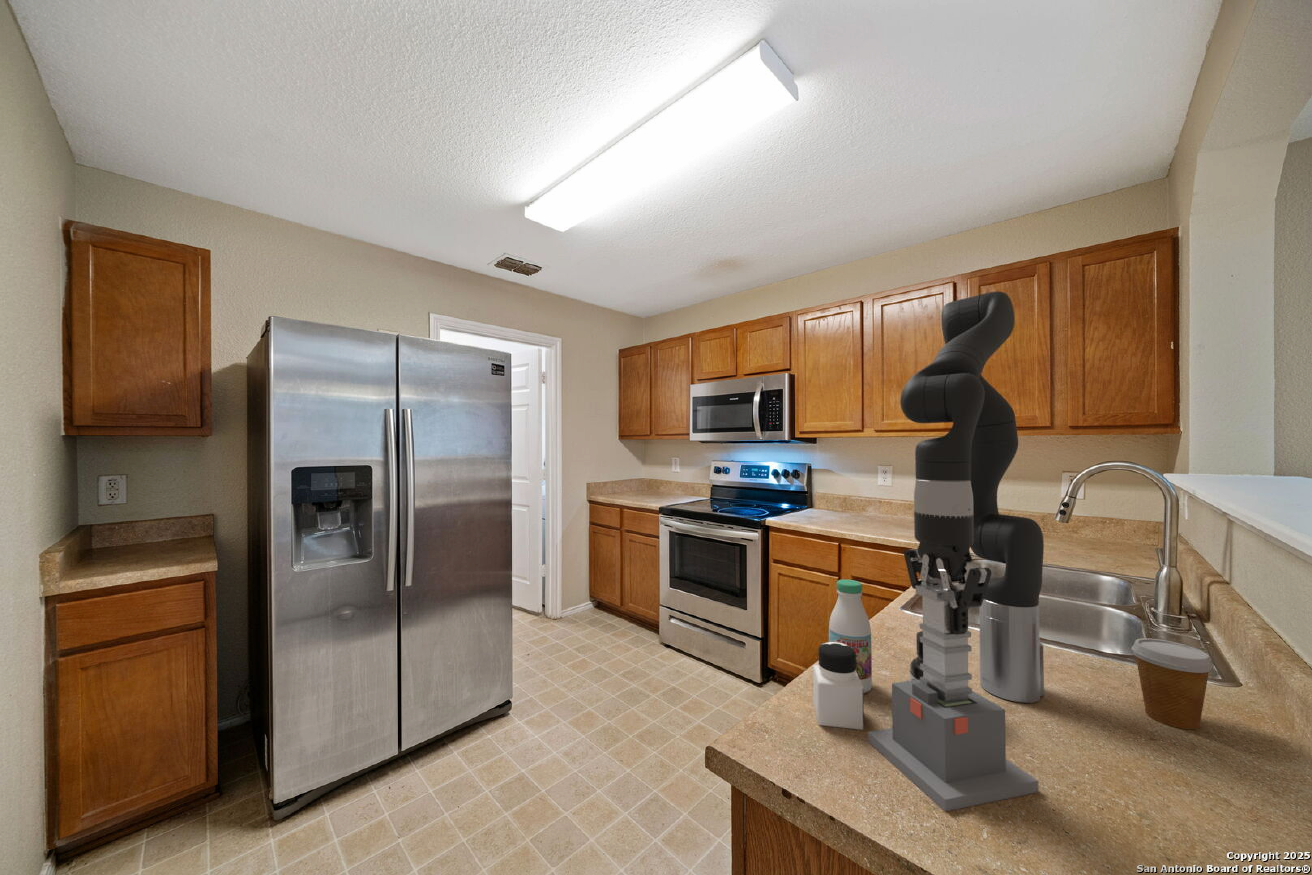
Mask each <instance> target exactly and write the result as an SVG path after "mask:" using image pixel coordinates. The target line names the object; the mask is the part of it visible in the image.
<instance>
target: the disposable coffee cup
mask: <svg viewBox="0 0 1312 875" xmlns="http://www.w3.org/2000/svg"><path fill="white" fill-rule="evenodd" d="M1131 651H1132V652H1133V654H1134V655H1135V660H1136V666H1137V670H1138V677H1139V681H1140V687H1141V693H1142V698H1143V703H1144V710H1145V713H1146V715H1147V716H1149V717H1150V718H1151V719H1154V721H1155V720H1156V721H1157V722H1159V723H1162V724H1165V725H1168V726H1171V727H1174V728H1178V729H1183V730H1192V729H1193V730H1198V729H1200V726H1201V719H1202V715H1203V709H1204V702H1205V698H1206V697H1205V696H1206V690H1207V685H1208V684H1207V683H1208V680H1209V678H1208V677H1209V673H1210V671H1211V669H1213V667H1214V663H1213V662H1211V660H1210V657H1209V655H1208V654H1207V653H1206V652H1204V651H1203V650H1201V649H1198V648H1196V647H1193V646H1189V645H1186V644H1183V643H1179V642H1174V641H1170V640H1166V639H1158V638H1156V639H1155V638H1149V637H1147V638H1143V637H1142V638H1137V639H1135V641H1134V643H1133V645H1132V646H1131ZM1197 728H1198V729H1197Z"/></svg>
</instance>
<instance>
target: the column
mask: <svg viewBox="0 0 1312 875" xmlns="http://www.w3.org/2000/svg"><path fill="white" fill-rule="evenodd" d="M952 584H953V585H956V583H955V582H952ZM915 594H916V595H919V596H921V597H922V622H920V623H919V629H920V630H921V631H923V637H920V642H921V643H923V663H922V664H920V669H922V670H923V677H920V682H921V683H923V684H925V685H926V686H928V687H929V688H931V689H933V690H934V691H936V692H937V693H938V704H940V705H941V706H943V707H944V708H949V707H956V706H962V705H969V704H972V702H970V701H969V694H972V691H973V688H971V686H969V681H970V680H973V674H971V673H970V672H969V652H972V646H971V645H970V644H969V638H972V632H971V631H969V629H968V630H967V631H966V633H965V634H959V635H955V634H953V633H951V632H950V609H949V607H951V606H950V603H949V592H947V591H945V590H944V588H943V584H931V585H927V584H926V585H916V589H915ZM957 596H958V599H960V591H958V590H957Z"/></svg>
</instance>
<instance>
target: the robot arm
mask: <svg viewBox="0 0 1312 875" xmlns="http://www.w3.org/2000/svg"><path fill="white" fill-rule="evenodd" d="M940 316H941V320H940V321H941V330H942V336H943V341H944V345H943V346H942V347H941V349H939V351H938V353H937V354H936V356H935V358H934V360H933V361H932V362H931V363H930V364H928V365H926V366H925V367H923V368H922V369H921V370H919V371H918V372H916V373H915V374H914V375H912V376H911V377H910V378H909V380H907V381H906V383H905V385H904V386H903V388H902V391H901V394H900V401H899V402H900V403H899V404H900V409H901V411H902V413H903V415H904V416H905V417H906V418H907V419H908V420H910V421H911V422H913V423H917V424H939V423H940V424H942V423H944V424H945V423H952V426H951V428H950V429H949V431H948V432H947V433H946V434H945V435H942V436H940V437H934V438H930V439H928V438H927V439H924V440H921V441H919V442H918V443H917V444H916V446H915V455H914V456H915V458H914V459H915V460H914V461H915V482H914V483H915V484H914V489H913V490H914V491H913V512H914V513H913V518H914V519H913V522H914V523H913V527H914V529H913V530H914V531H913V532H914V539H915V540H916V541H917V542H919V543H918V544H919V545H918V546H917V548H916V549H915V548H912V549H905V550H903V556H904V560H905V565H906V568H907V572H908V577H909V581H910V586H911V588H912V589H914V590H916V585H926V584H927V585H931V584H943V588H944V590H945V591H947V592H949V603H950V606H951V607H949V609H950V632H951V633H953V634H955V635H959V634H965V633H966V631H967V630H968V631H969V609H970V608H978V609H979V615H978V616H979V682H980V683H979V684H980V686H981V688H982V689H984V690H985V692H988V693H989V694H991V695H994V696H996V697H999V698H1000V699H1004V700H1006V701H1007V700H1008V701H1012V702H1018V703H1026V704H1027V703H1029V704H1030V703H1036V702H1039V700H1040V699H1041V697H1042V696H1045V675H1044V674H1045V672H1044V671H1045V670H1044V669H1045V668H1044V667H1045V666H1044V665H1045V664H1044V663H1045V662H1044V661H1045V660H1044V645H1043V643H1042V642H1040V594H1041V590H1042V586H1043V571H1044V569H1043V568H1044V566H1043V565H1044V564H1043V563H1044V547H1045V546H1044V545H1045V544H1044V536H1043V535H1044V534H1043V531H1042V529H1041V527H1040V525H1039V524H1038V522H1036V521H1035V520H1034V519H1032V518H1028V517H1022V516H1016V515H1008V514H1001V513H1000V512H999V508H998V506H999V505H998V491H999V490H998V489H999V485H1000V483H1001V481H1002V479H1003V477H1004V476H1005V474H1006V472H1007V470H1008V469H1009V467H1010V465H1011V464H1012V462H1013V460H1014V458H1015V456H1016V454H1017V451H1018V448H1019V437H1018V428H1017V427H1018V426H1017V421H1016V420H1017V418H1016V413H1015V411H1014V409H1013V407H1012V406H1011V404H1010V403H1009V402H1008V400H1006V398H1004V396H1002V394H1001V393H1000V392H999V391H997V390H996V388H994V387H993V385H991V384H990V382H988V381H987V380H986V378H984V376H983V375H982V373H983V370H984V368H985V366H986V363H987V362H988V360H990V358H991V357H992V356H993V355H994V354H995V353H996V352H997V350H999V349H1000V347H1002V345H1003V344H1004V343H1005V342H1006V341H1007V340H1008V339H1009V338H1010V336H1012V333H1013V330H1014V327H1015V322H1016V320H1015V319H1016V318H1015V310H1014V305H1013V303H1012V299H1011V298H1010V296H1009V295H1008V294H1007V293H1006V292H1004V291H999V290H998V291H990V292H986V293H981V294H978V295H974V296H970V297H965V298H962V299H957V300H954V301H953V300H952V301H950V302H948V303H946V304H945V305H944V306H943V308H942V310H941V315H940ZM970 549H971V550H970ZM971 551H972V553H974V555H975V556H976V557H978V558H980V559H983V560H987V561H990V562H996V563H1000V564H1003V565H1004V564H1005V571H1004V575H1003V576H1001V577H992V570H991V569H990V568H989V567H981V566H979V565H978V564H976V563H975V562H974V561H973V557H972V555H971ZM918 574H919V578H918ZM956 582H958V583H957V584H956ZM952 583H955V584H956V585H953V584H952ZM957 590H958V591H960V599H958V596H957Z"/></svg>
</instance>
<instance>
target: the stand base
mask: <svg viewBox="0 0 1312 875" xmlns="http://www.w3.org/2000/svg"><path fill="white" fill-rule="evenodd" d="M891 701H892V702H891V704H892V708H891V709H892V712H891V713H892V715H891V716H892V718H891V719H892V720H891V722H892V723H891V724H892V727H890V728H883V729H877V730H871V731H867V742H868V743H869V744H870V745H871V746H872V747H874V748H875V750H877V751H878V752H879V753H880V754H881V755H882V756H883V757H884V758H886V760H888V761H889V762H890V763H891V764H892V765H893V766H894V767H896V768H897V769H898V770H899V771H900V772H901V773H902V774H903V775H904V776H905V777H906V778H908V779H909V780H910V781H911V782H912V783H913V784H914V785H916V786H917V787H918V789H920V790H921V791H922V792H923V793H924V794H925V795H926V796H927V797H929V799H931V801H933V802H934V803H935V804H936V805H937V806H939V807H940V809H942V810H943V811H944V812H950V811H954V810H959V809H960V810H961V809H964V808H969V807H974V806H977V805H983V804H989V803H992V802H997V801H1002V800H1007V799H1012V798H1016V797H1017V798H1018V797H1022V796H1027V795H1031V794H1035V793H1039V780H1038V779H1036V778H1035V777H1033V776H1032V775H1030V774H1029V773H1027V771H1024V770H1023V769H1021V768H1020V767H1019V766H1017V765H1016V764H1014V763H1013V762H1011V761H1010V760H1008V759H1007V757H1006V754H1007V753H1006V709H1005V708H1003V707H1002V706H1000V705H998V704H996V703H994V702H993V701H991V700H989V699H987V698H986V697H984V696H982V695H981V694H979V693H977V692H975V691H974V690H972V694H969V701H970V702H972V704H969V705H962V706H956V707H949V708H944V707H943V706H941V705H940V704H938V693H937V692H936V691H934V690H933V689H931V688H929V687H928V686H926V685H925V684H923V683H921V682H920V680H912V681H910V680H907V681H905V680H904V681H898V682H891Z"/></svg>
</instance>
